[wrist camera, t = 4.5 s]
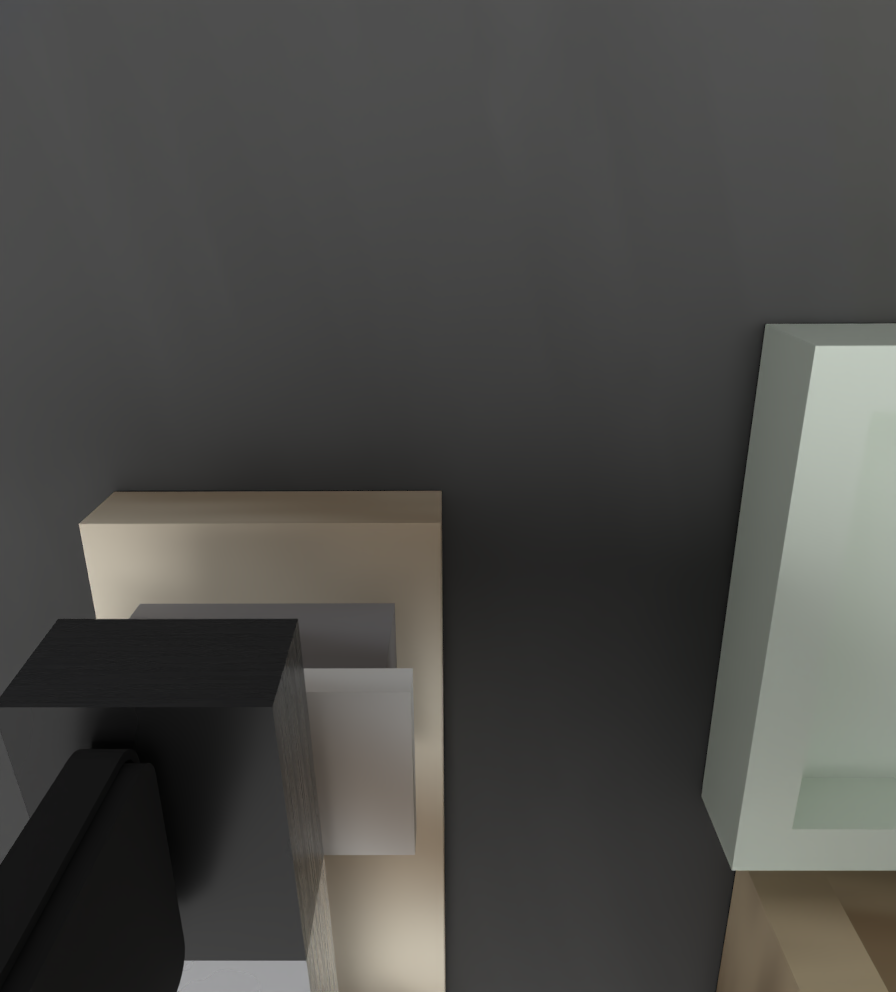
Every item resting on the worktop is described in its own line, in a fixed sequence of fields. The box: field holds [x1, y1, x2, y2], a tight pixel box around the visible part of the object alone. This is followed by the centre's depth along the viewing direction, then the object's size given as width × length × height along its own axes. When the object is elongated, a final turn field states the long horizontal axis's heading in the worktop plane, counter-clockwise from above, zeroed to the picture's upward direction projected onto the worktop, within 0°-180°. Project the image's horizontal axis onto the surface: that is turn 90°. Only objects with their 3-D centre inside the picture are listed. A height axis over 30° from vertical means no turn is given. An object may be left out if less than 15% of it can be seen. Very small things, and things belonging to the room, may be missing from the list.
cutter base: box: [79, 491, 446, 992], centre depth 14 cm, size 14×6×6 cm, turn 0°
